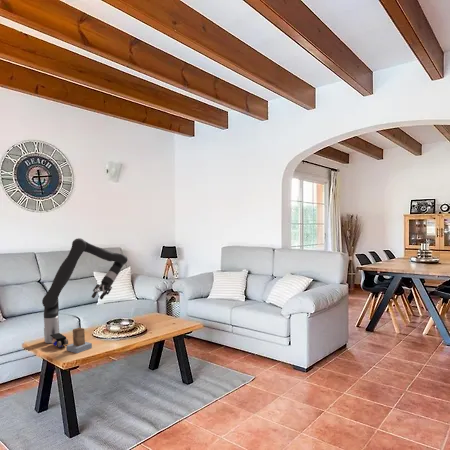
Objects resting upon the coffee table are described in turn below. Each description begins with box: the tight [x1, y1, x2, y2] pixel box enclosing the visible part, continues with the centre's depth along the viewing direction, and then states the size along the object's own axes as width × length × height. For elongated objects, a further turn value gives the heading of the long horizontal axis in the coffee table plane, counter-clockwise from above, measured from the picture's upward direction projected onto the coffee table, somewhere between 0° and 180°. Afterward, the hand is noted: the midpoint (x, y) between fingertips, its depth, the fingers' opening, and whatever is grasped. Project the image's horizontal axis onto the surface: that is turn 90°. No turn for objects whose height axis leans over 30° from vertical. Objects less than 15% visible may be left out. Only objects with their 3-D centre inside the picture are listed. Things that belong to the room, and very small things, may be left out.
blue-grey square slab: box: [65, 341, 93, 354], centre depth 246 cm, size 11×11×3 cm
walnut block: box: [72, 327, 86, 346], centre depth 246 cm, size 5×5×10 cm
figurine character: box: [50, 332, 69, 350], centre depth 253 cm, size 7×8×15 cm
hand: (96, 298), depth 261 cm, fingers open, 8 cm apart
